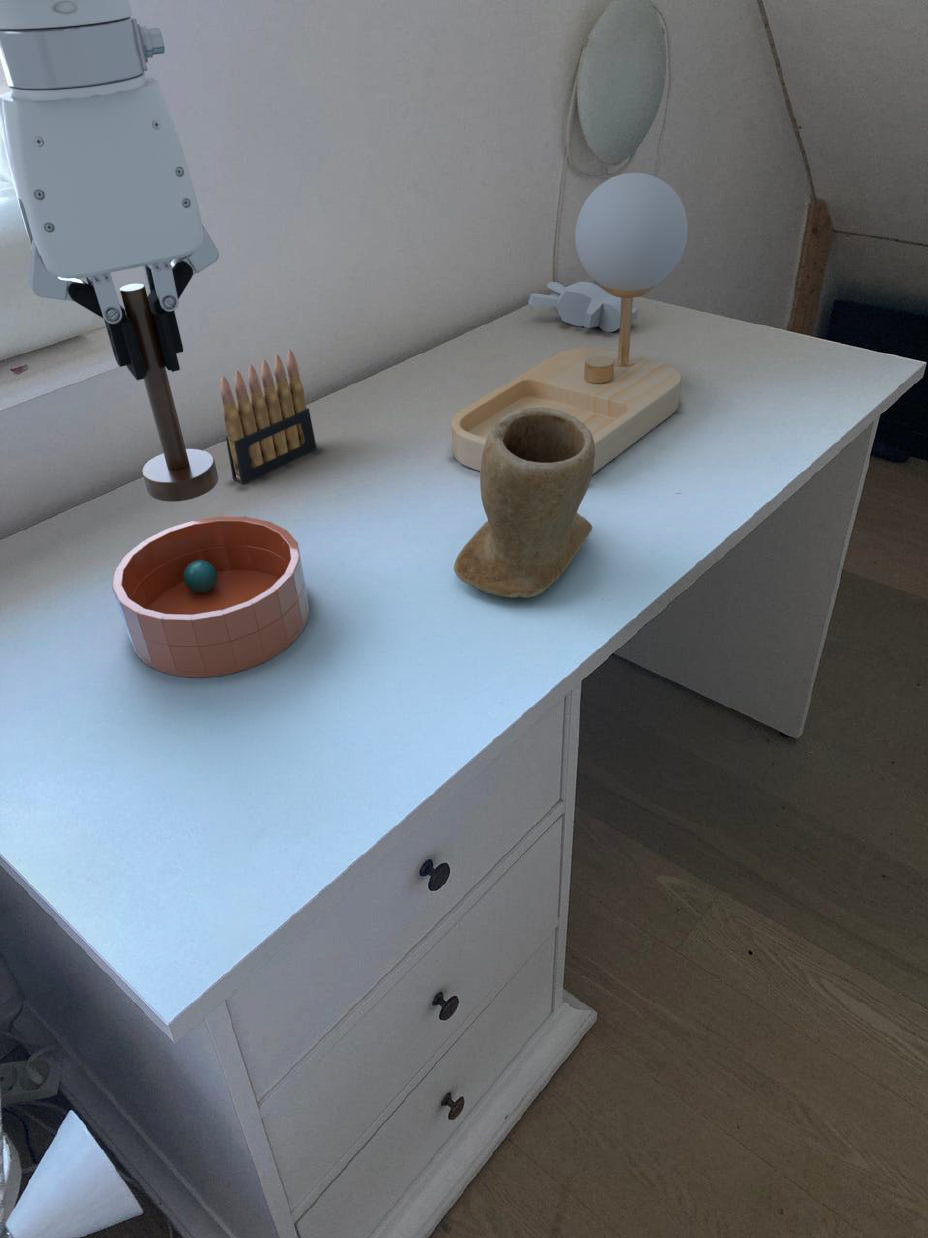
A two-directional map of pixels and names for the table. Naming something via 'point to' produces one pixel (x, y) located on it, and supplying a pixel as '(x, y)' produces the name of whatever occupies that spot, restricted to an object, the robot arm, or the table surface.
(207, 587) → the bead
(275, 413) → the ammunition clip
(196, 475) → the brown disc-based tamper
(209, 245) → the robot arm
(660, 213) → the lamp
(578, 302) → the bunny figurine
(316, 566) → the table surface
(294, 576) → the bowl
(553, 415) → the stone cup
